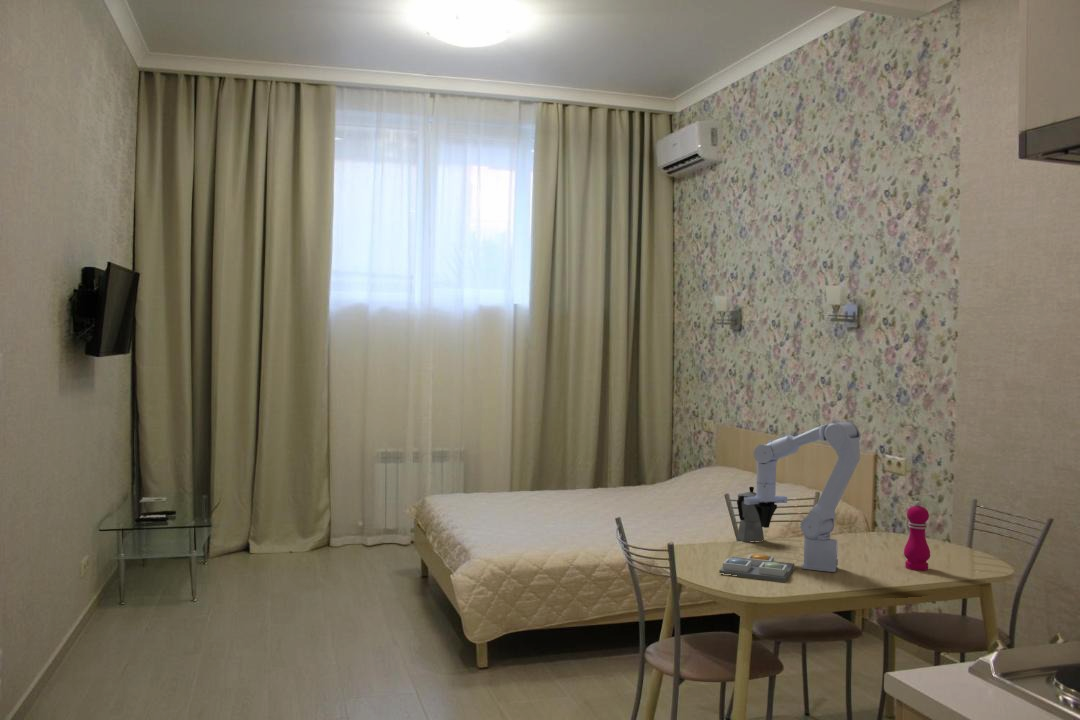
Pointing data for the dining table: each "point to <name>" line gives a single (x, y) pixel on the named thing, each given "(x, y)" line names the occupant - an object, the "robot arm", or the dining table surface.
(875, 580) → the dining table surface
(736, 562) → the button blue
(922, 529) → the pepper mill
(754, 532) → the coffeepot
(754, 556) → the button orange
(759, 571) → the control board
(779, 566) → the button sage
